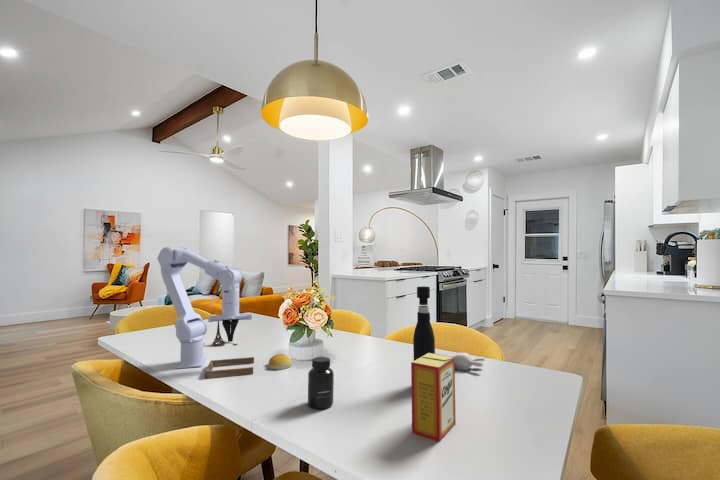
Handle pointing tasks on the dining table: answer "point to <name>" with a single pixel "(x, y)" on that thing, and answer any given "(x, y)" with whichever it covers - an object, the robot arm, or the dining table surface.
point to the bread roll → (280, 362)
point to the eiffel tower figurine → (220, 339)
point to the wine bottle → (423, 326)
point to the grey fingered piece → (466, 361)
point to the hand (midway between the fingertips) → (230, 341)
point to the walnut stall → (229, 372)
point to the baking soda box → (433, 395)
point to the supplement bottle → (320, 384)
